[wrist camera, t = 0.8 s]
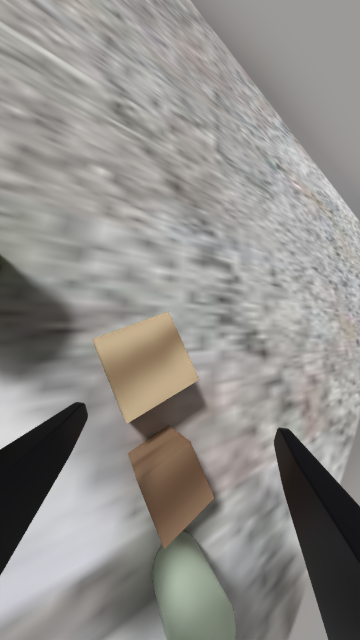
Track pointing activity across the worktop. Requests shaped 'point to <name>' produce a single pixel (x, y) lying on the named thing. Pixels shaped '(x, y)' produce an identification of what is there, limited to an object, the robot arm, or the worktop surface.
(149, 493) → the walnut cube
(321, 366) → the worktop surface
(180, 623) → the sage cylinder
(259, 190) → the worktop surface
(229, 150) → the worktop surface
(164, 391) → the oak block
